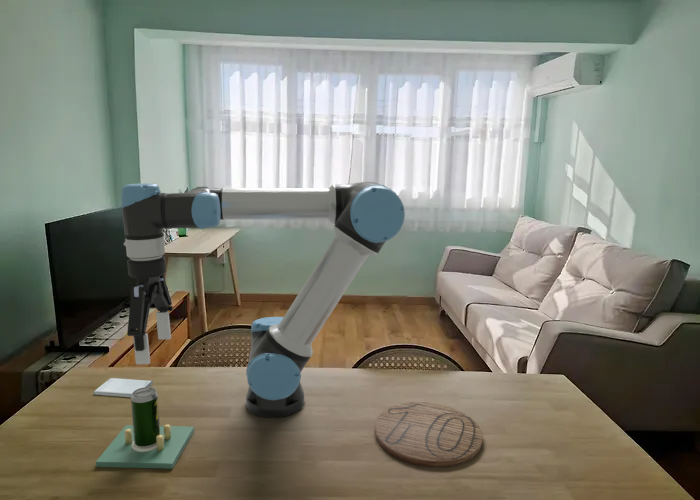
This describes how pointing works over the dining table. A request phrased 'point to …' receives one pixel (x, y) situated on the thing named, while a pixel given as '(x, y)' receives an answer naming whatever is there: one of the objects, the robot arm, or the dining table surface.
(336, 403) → the dining table surface
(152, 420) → the beer can
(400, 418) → the trivet
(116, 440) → the board
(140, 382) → the hard drive
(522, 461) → the dining table surface
